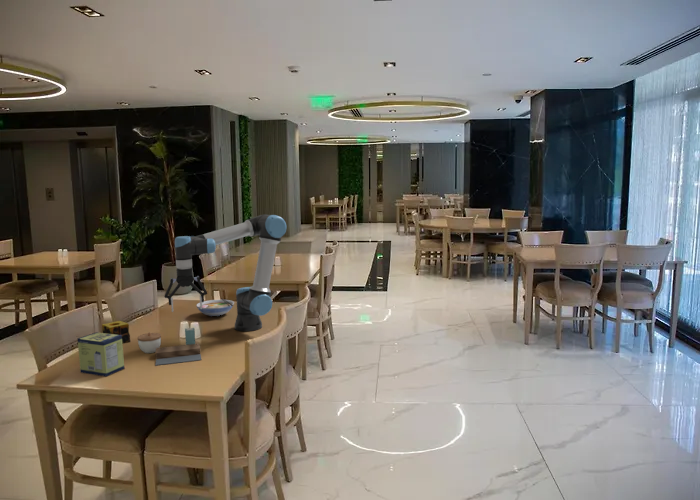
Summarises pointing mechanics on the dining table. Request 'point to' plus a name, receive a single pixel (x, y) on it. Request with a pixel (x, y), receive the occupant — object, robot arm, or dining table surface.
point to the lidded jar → (149, 342)
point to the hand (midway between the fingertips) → (187, 310)
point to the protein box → (101, 354)
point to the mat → (178, 359)
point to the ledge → (177, 351)
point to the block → (190, 336)
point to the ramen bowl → (215, 307)
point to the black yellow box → (117, 330)
